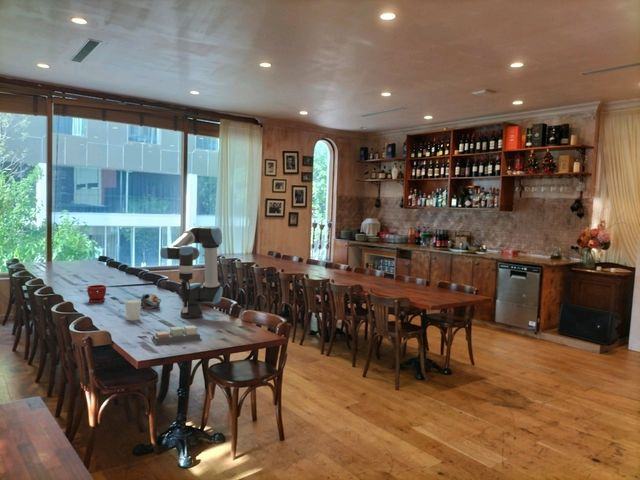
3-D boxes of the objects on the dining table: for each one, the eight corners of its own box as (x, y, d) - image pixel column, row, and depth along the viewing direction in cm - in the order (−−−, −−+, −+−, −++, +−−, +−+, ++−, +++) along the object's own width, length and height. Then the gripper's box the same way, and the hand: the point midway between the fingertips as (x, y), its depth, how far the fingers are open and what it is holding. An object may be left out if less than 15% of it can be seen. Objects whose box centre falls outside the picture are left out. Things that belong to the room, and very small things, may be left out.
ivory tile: (183, 332, 290) (184, 326, 289) (193, 331, 293) (194, 325, 292) (186, 335, 285) (186, 328, 284) (196, 334, 288) (197, 327, 287)
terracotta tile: (156, 338, 282) (156, 332, 281) (166, 337, 285) (166, 331, 285) (158, 341, 277) (158, 334, 276) (169, 340, 280) (169, 333, 279)
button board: (151, 339, 283) (151, 333, 283) (195, 335, 297) (195, 329, 296) (155, 344, 273) (155, 339, 273) (201, 340, 286) (201, 334, 286)
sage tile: (170, 334, 286) (170, 327, 285) (180, 333, 289) (180, 326, 288) (172, 336, 281) (172, 329, 280) (183, 335, 284) (183, 328, 283)
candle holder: (122, 318, 328) (123, 300, 327) (136, 316, 335) (137, 299, 334) (129, 321, 321) (129, 303, 321) (143, 319, 329) (144, 301, 328)
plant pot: (99, 299, 386) (100, 283, 385) (109, 301, 378) (109, 286, 377) (83, 301, 375) (83, 285, 374) (92, 303, 368) (93, 288, 367)
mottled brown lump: (162, 306, 371) (165, 291, 365) (155, 315, 360) (159, 300, 354) (143, 299, 370) (146, 285, 364) (136, 308, 360) (139, 294, 353)
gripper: (176, 270, 288) (175, 310, 290) (182, 274, 277) (181, 315, 279) (189, 270, 292) (188, 309, 294) (195, 273, 280) (194, 314, 282)
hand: (184, 312), depth 286 cm, fingers closed
